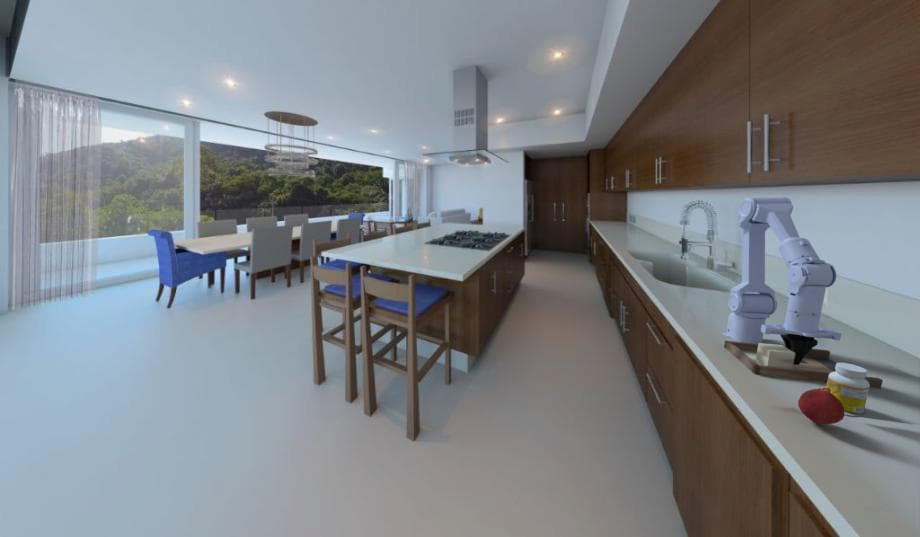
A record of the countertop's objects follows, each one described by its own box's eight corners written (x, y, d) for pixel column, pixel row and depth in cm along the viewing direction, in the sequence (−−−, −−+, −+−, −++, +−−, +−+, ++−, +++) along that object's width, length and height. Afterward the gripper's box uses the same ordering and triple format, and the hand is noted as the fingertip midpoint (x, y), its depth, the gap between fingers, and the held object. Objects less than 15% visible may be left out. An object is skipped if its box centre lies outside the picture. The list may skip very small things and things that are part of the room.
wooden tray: (723, 350, 94) (725, 340, 93) (825, 360, 86) (827, 350, 86) (753, 377, 79) (755, 366, 78) (879, 392, 72) (882, 380, 71)
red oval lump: (803, 428, 60) (811, 390, 59) (790, 411, 65) (797, 375, 64) (847, 438, 58) (856, 398, 56) (830, 419, 63) (838, 382, 61)
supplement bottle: (865, 422, 62) (877, 376, 60) (824, 411, 65) (834, 368, 64) (858, 408, 66) (868, 366, 64) (820, 399, 69) (828, 358, 68)
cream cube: (755, 360, 85) (758, 343, 84) (779, 362, 83) (782, 345, 83) (766, 369, 80) (769, 351, 79) (791, 372, 79) (795, 353, 78)
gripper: (776, 314, 76) (767, 366, 79) (856, 319, 72) (844, 374, 75) (759, 305, 83) (751, 354, 86) (832, 310, 79) (821, 361, 81)
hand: (793, 362), depth 80 cm, fingers closed
